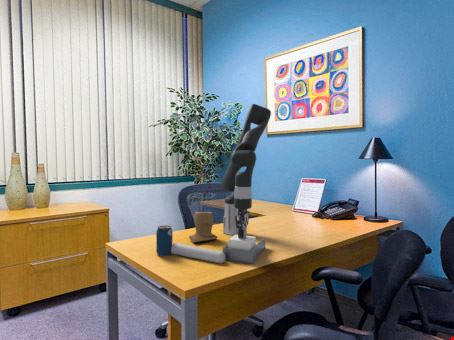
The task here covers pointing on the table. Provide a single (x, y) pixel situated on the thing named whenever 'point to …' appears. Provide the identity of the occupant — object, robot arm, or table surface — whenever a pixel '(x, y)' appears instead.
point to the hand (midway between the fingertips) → (242, 236)
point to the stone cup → (203, 227)
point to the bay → (244, 253)
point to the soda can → (164, 240)
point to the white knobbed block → (242, 241)
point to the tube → (198, 253)
